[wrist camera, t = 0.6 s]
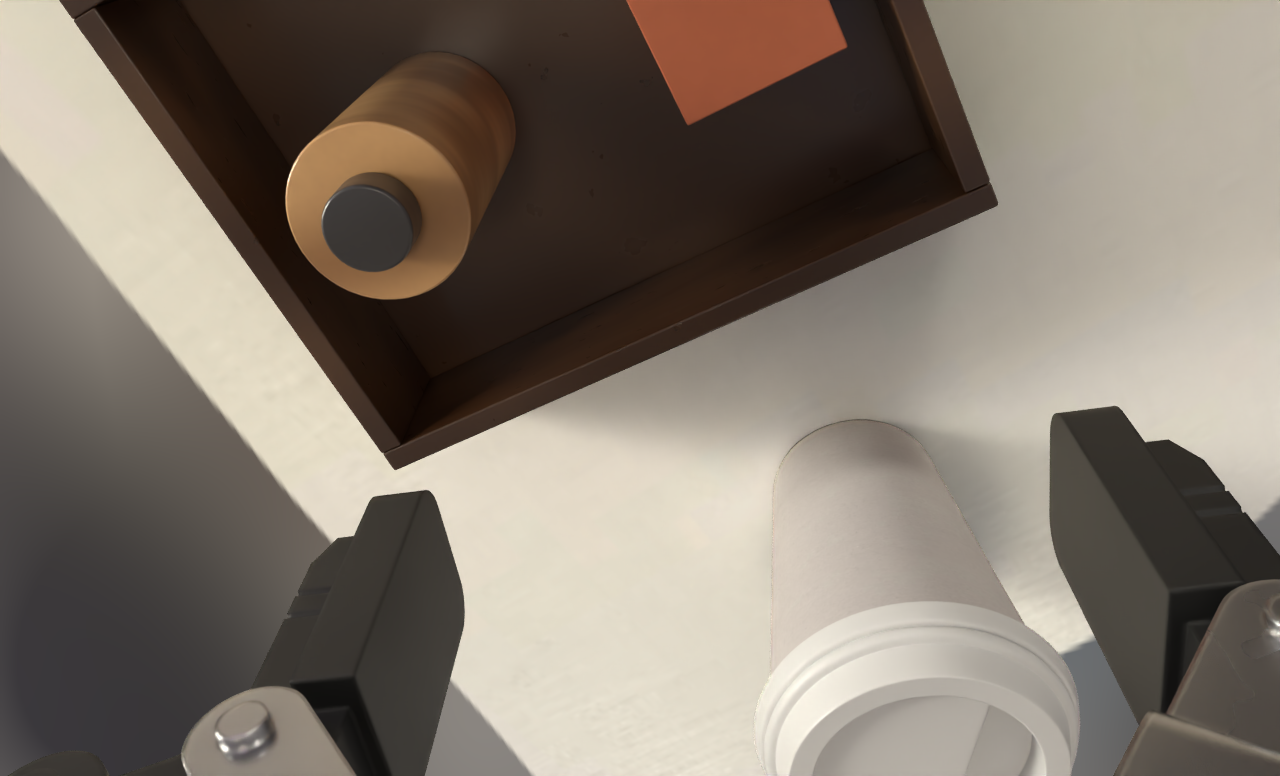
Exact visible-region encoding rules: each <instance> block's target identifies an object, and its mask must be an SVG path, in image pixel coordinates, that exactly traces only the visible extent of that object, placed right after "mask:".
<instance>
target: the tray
mask: <svg viewBox="0 0 1280 776" xmlns="http://www.w3.org/2000/svg"><path fill="white" fill-rule="evenodd" d="M59 1H60V2H61V3H62V5H63V6H64V8H65V9H66V10H67V12H68V13H69V15H70V16H71V17H72V18H73V19H75V20H74V22H75V23H76V25H77V26H78V27H79V29H80V30H81V32H82V33H83V34H84V36H85V37H86V39H87V40H88V41H89V43H90V44H91V46H92V47H93V48H94V50H95V51H96V53H97V54H98V55H99V57H100V58H101V60H102V61H103V62H104V64H105V65H106V67H107V68H108V69H109V71H110V72H111V74H112V75H113V76H114V78H115V79H116V81H117V82H118V84H119V85H120V86H121V88H122V89H123V91H124V92H125V93H126V95H127V96H128V98H129V99H130V100H131V102H132V103H133V105H134V106H135V107H136V109H137V110H138V112H139V113H140V114H141V116H142V117H143V119H144V120H145V121H146V123H147V124H148V126H149V127H150V128H151V130H152V131H153V133H154V134H155V135H156V137H157V138H158V140H159V141H160V142H161V144H162V145H163V147H164V148H165V149H166V151H167V152H168V154H169V155H170V156H171V158H172V159H173V161H174V162H175V164H176V165H177V166H178V168H179V169H180V171H181V172H182V173H183V175H184V176H185V178H186V179H187V180H188V182H189V183H190V185H191V186H192V187H193V189H194V190H195V192H196V193H197V194H198V196H199V197H200V199H201V200H202V201H203V203H204V204H205V206H206V207H207V208H208V210H209V211H210V213H211V214H212V215H213V217H214V218H215V220H216V221H217V222H218V224H219V225H220V227H221V228H222V229H223V231H224V232H225V234H226V235H227V236H228V238H229V239H230V241H231V242H232V243H233V245H234V246H235V248H236V249H237V251H238V252H239V253H240V255H241V256H242V258H243V259H244V260H245V262H246V263H247V265H248V266H249V267H250V269H251V270H252V272H253V273H254V274H255V276H256V277H257V279H258V280H259V281H260V283H261V284H262V286H263V287H264V288H265V290H266V291H267V293H268V294H269V295H270V297H271V298H272V300H273V301H274V302H275V304H276V305H277V307H278V308H279V309H280V311H281V312H282V314H283V315H284V316H285V318H286V319H287V321H288V322H289V323H290V325H291V326H292V328H293V329H294V330H295V332H296V333H297V335H298V336H299V338H300V339H301V340H302V342H303V343H304V345H305V346H306V347H307V349H308V350H309V352H310V353H311V354H312V356H313V357H314V359H315V360H316V361H317V363H318V364H319V366H320V367H321V368H322V370H323V371H324V373H325V374H326V375H327V377H328V378H329V380H330V381H331V382H332V384H333V385H334V387H335V388H336V389H337V391H338V392H339V394H340V395H341V396H342V398H343V399H344V401H345V402H346V403H347V405H348V406H349V408H350V409H351V410H352V412H353V413H354V415H355V416H356V418H357V419H358V420H359V422H360V423H361V425H362V426H363V427H364V429H365V430H366V432H367V433H368V434H369V436H370V437H371V439H372V440H373V441H374V443H375V444H376V446H377V447H378V448H379V450H380V451H381V452H382V453H384V456H385V457H386V459H387V460H388V462H389V463H390V464H391V466H392V467H393V469H394V470H397V469H399V468H402V467H404V466H406V465H408V464H411V463H413V462H415V461H418V460H420V459H422V458H424V457H427V456H429V455H431V454H434V453H436V452H438V451H440V450H443V449H445V448H447V447H449V446H452V445H454V444H456V443H459V442H461V441H463V440H465V439H468V438H470V437H472V436H475V435H477V434H479V433H481V432H484V431H486V430H488V429H490V428H493V427H495V426H497V425H500V424H502V423H504V422H506V421H509V420H511V419H513V418H516V417H518V416H520V415H522V414H525V413H527V412H529V411H531V410H534V409H536V408H538V407H541V406H543V405H545V404H547V403H550V402H552V401H554V400H557V399H559V398H561V397H563V396H566V395H568V394H570V393H572V392H575V391H577V390H579V389H582V388H584V387H586V386H588V385H591V384H593V383H595V382H598V381H600V380H602V379H604V378H607V377H609V376H611V375H613V374H616V373H618V372H620V371H623V370H625V369H627V368H629V367H632V366H634V365H636V364H639V363H641V362H643V361H645V360H648V359H650V358H652V357H654V356H657V355H659V354H661V353H664V352H666V351H668V350H670V349H673V348H675V347H677V346H680V345H682V344H684V343H686V342H689V341H691V340H693V339H695V338H698V337H700V336H702V335H705V334H707V333H709V332H711V331H714V330H716V329H718V328H720V327H723V326H725V325H727V324H730V323H732V322H734V321H736V320H739V319H741V318H743V317H746V316H748V315H750V314H752V313H755V312H757V311H759V310H761V309H764V308H766V307H768V306H771V305H773V304H775V303H777V302H780V301H782V300H784V299H787V298H789V297H791V296H793V295H796V294H798V293H800V292H802V291H805V290H807V289H809V288H812V287H814V286H816V285H818V284H821V283H823V282H825V281H828V280H830V279H832V278H834V277H837V276H839V275H841V274H843V273H846V272H848V271H850V270H853V269H855V268H857V267H859V266H862V265H864V264H866V263H869V262H871V261H873V260H875V259H878V258H880V257H882V256H884V255H887V254H889V253H891V252H894V251H896V250H898V249H900V248H903V247H905V246H907V245H910V244H912V243H914V242H916V241H919V240H921V239H923V238H925V237H928V236H930V235H932V234H935V233H937V232H939V231H941V230H944V229H946V228H948V227H951V226H953V225H955V224H957V223H960V222H962V221H964V220H966V219H969V218H971V217H973V216H976V215H978V214H980V213H982V212H985V211H987V210H989V209H992V208H994V207H996V206H997V205H998V201H997V198H996V195H995V192H994V190H993V187H992V185H991V183H990V182H989V181H990V179H989V176H988V174H987V171H986V168H985V165H984V163H983V160H982V157H981V155H980V152H979V149H978V147H977V144H976V141H975V139H974V136H973V133H972V131H971V128H970V125H969V122H968V120H967V117H966V114H965V112H964V109H963V106H962V104H961V101H960V98H959V96H958V93H957V90H956V88H955V85H954V82H953V79H952V77H951V74H950V71H949V69H948V66H947V63H946V61H945V58H944V55H943V53H942V50H941V47H940V44H939V42H938V39H937V36H936V34H935V31H934V28H933V26H932V23H931V20H930V18H929V15H928V12H927V10H926V7H925V4H924V1H923V0H829V1H830V4H831V6H832V9H833V11H834V14H835V16H836V18H837V21H838V23H839V26H840V28H841V31H842V33H843V36H844V38H845V40H846V43H847V48H845V49H843V50H841V51H839V52H837V53H835V54H833V55H831V56H829V57H827V58H825V59H823V60H821V61H819V62H817V63H815V64H813V65H811V66H809V67H807V68H805V69H803V70H801V71H799V72H797V73H795V74H793V75H790V76H788V77H786V78H784V79H782V80H780V81H778V82H776V83H774V84H772V85H770V86H768V87H766V88H764V89H762V90H760V91H758V92H756V93H754V94H752V95H750V96H748V97H746V98H744V99H742V100H740V101H738V102H736V103H734V104H731V105H729V106H727V107H725V108H723V109H721V110H719V111H717V112H715V113H713V114H711V115H709V116H707V117H705V118H703V119H701V120H699V121H697V122H695V123H693V124H691V125H687V123H686V121H685V119H684V117H683V115H682V113H681V111H680V109H679V107H678V105H677V103H676V101H675V99H674V97H673V95H672V93H671V91H670V89H669V87H668V85H667V83H666V81H665V78H664V76H663V74H662V72H661V70H660V68H659V66H658V64H657V62H656V60H655V58H654V56H653V54H652V52H651V50H650V48H649V46H648V44H647V42H646V40H645V38H644V36H643V33H642V31H641V29H640V27H639V25H638V23H637V21H636V19H635V17H634V15H633V13H632V11H631V9H630V7H629V5H628V3H627V1H626V0H59ZM427 52H443V53H451V54H454V55H458V56H461V57H464V58H466V59H468V60H470V61H472V62H474V63H476V64H478V65H479V66H480V67H482V68H483V69H484V70H486V71H487V72H488V73H489V74H490V75H491V76H492V77H493V78H494V79H495V80H496V81H497V82H498V84H499V85H500V86H501V88H502V89H503V91H504V92H505V94H506V96H507V98H508V100H509V102H510V104H511V107H512V110H513V114H514V119H515V127H516V138H515V145H514V150H513V153H512V156H511V159H510V161H509V163H508V165H507V167H506V169H505V172H504V174H503V176H502V178H501V180H500V182H499V184H498V186H497V188H496V190H495V192H494V194H493V196H492V199H491V201H490V203H489V205H488V207H487V209H486V211H485V213H484V215H483V217H482V219H481V221H480V223H479V226H478V228H477V230H476V232H475V234H474V236H473V238H472V240H471V242H470V244H469V246H468V248H467V250H466V253H465V254H464V256H463V258H462V260H461V262H460V264H459V265H458V266H457V268H456V269H455V271H454V272H453V273H452V274H451V275H450V276H449V277H448V278H447V279H446V280H445V281H443V282H442V283H441V284H439V285H438V286H436V287H435V288H433V289H431V290H429V291H427V292H425V293H422V294H420V295H417V296H413V297H409V298H403V299H376V298H370V297H366V296H362V295H358V294H356V293H353V292H350V291H348V290H346V289H344V288H342V287H340V286H338V285H336V284H335V283H333V282H332V281H330V280H329V279H327V278H326V277H325V276H324V275H323V274H321V273H320V272H319V271H318V270H317V269H316V268H315V267H314V266H313V265H312V264H311V263H310V262H309V261H308V259H307V258H306V257H305V255H304V254H303V253H302V251H301V249H300V248H299V246H298V244H297V243H296V241H295V238H294V236H293V234H292V232H291V228H290V225H289V222H288V218H287V212H286V199H285V195H286V186H287V181H288V177H289V173H290V171H291V169H292V166H293V164H294V162H295V160H296V159H297V157H298V156H299V154H300V153H301V151H302V150H303V149H304V148H305V147H306V145H307V144H308V143H310V142H311V141H312V140H313V139H314V138H315V137H316V136H317V135H318V134H319V133H321V132H322V131H323V130H324V129H325V128H326V127H327V126H328V125H329V124H330V123H331V122H333V121H334V120H335V119H336V118H337V117H338V116H339V115H340V114H341V113H342V112H344V111H345V110H346V109H347V108H348V107H349V106H350V105H351V104H352V103H353V102H354V101H356V100H357V99H358V98H359V97H360V96H361V95H362V94H363V93H364V92H365V91H366V90H368V89H369V88H370V87H371V86H372V85H373V84H374V83H375V82H376V81H377V80H379V79H380V78H381V77H382V76H383V75H384V74H385V73H386V72H387V71H388V70H390V69H391V68H392V67H393V66H394V65H396V64H397V63H399V62H400V61H402V60H404V59H406V58H408V57H410V56H413V55H417V54H420V53H427Z"/></svg>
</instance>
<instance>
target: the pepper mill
mask: <svg viewBox="0 0 1280 776" xmlns="http://www.w3.org/2000/svg"><path fill="white" fill-rule="evenodd" d="M515 138H516V127H515V119H514V114H513V110H512V107H511V104H510V102H509V100H508V98H507V96H506V94H505V92H504V91H503V89H502V88H501V86H500V85H499V84H498V82H497V81H496V80H495V79H494V78H493V77H492V76H491V75H490V74H489V73H488V72H487V71H486V70H484V69H483V68H482V67H480V66H479V65H478V64H476V63H474V62H472V61H470V60H468V59H466V58H464V57H461V56H458V55H454V54H451V53H443V52H427V53H420V54H417V55H413V56H410V57H408V58H406V59H404V60H402V61H400V62H399V63H397V64H396V65H394V66H393V67H392V68H391V69H390V70H388V71H387V72H386V73H385V74H384V75H383V76H382V77H381V78H380V79H379V80H377V81H376V82H375V83H374V84H373V85H372V86H371V87H370V88H369V89H368V90H366V91H365V92H364V93H363V94H362V95H361V96H360V97H359V98H358V99H357V100H356V101H354V102H353V103H352V104H351V105H350V106H349V107H348V108H347V109H346V110H345V111H344V112H342V113H341V114H340V115H339V116H338V117H337V118H336V119H335V120H334V121H333V122H331V123H330V124H329V125H328V126H327V127H326V128H325V129H324V130H323V131H322V132H321V133H319V134H318V135H317V136H316V137H315V138H314V139H313V140H312V141H311V142H310V143H308V144H307V145H306V147H305V148H304V149H303V150H302V151H301V153H300V154H299V156H298V157H297V159H296V160H295V162H294V164H293V166H292V169H291V171H290V173H289V177H288V181H287V186H286V195H285V199H286V212H287V218H288V222H289V225H290V228H291V232H292V234H293V236H294V238H295V241H296V243H297V244H298V246H299V248H300V249H301V251H302V253H303V254H304V255H305V257H306V258H307V259H308V261H309V262H310V263H311V264H312V265H313V266H314V267H315V268H316V269H317V270H318V271H319V272H320V273H321V274H323V275H324V276H325V277H326V278H327V279H329V280H330V281H332V282H333V283H335V284H336V285H338V286H340V287H342V288H344V289H346V290H348V291H350V292H353V293H356V294H358V295H362V296H366V297H370V298H376V299H403V298H409V297H413V296H417V295H420V294H422V293H425V292H427V291H429V290H431V289H433V288H435V287H436V286H438V285H439V284H441V283H442V282H443V281H445V280H446V279H447V278H448V277H449V276H450V275H451V274H452V273H453V272H454V271H455V269H456V268H457V266H458V265H459V264H460V262H461V260H462V258H463V256H464V254H465V253H466V250H467V248H468V246H469V244H470V242H471V240H472V238H473V236H474V234H475V232H476V230H477V228H478V226H479V223H480V221H481V219H482V217H483V215H484V213H485V211H486V209H487V207H488V205H489V203H490V201H491V199H492V196H493V194H494V192H495V190H496V188H497V186H498V184H499V182H500V180H501V178H502V176H503V174H504V172H505V169H506V167H507V165H508V163H509V161H510V159H511V156H512V153H513V150H514V145H515Z"/></svg>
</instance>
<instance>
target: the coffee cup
mask: <svg viewBox="0 0 1280 776" xmlns="http://www.w3.org/2000/svg"><path fill="white" fill-rule="evenodd" d="M1079 733H1080V714H1079V701H1078V694H1077V689H1076V686H1075V683H1074V680H1073V677H1072V675H1071V673H1070V671H1069V669H1068V667H1067V665H1066V664H1065V662H1064V661H1063V659H1062V658H1061V656H1060V655H1059V654H1058V653H1057V651H1056V650H1055V649H1054V648H1053V647H1052V646H1051V645H1050V644H1049V643H1048V642H1047V641H1046V640H1045V639H1044V638H1042V637H1041V636H1040V635H1039V634H1037V633H1036V632H1035V631H1033V630H1032V629H1030V628H1029V627H1027V626H1025V624H1024V622H1023V621H1022V619H1021V617H1020V615H1019V614H1018V612H1017V610H1016V608H1015V607H1014V605H1013V603H1012V601H1011V600H1010V598H1009V596H1008V595H1007V593H1006V591H1005V589H1004V588H1003V586H1002V584H1001V582H1000V580H999V579H998V577H997V575H996V573H995V572H994V570H993V568H992V566H991V565H990V563H989V561H988V559H987V558H986V556H985V554H984V552H983V550H982V549H981V547H980V545H979V543H978V542H977V540H976V538H975V536H974V535H973V533H972V531H971V529H970V527H969V526H968V524H967V522H966V520H965V519H964V517H963V515H962V513H961V512H960V510H959V508H958V506H957V504H956V503H955V501H954V499H953V497H952V496H951V494H950V492H949V490H948V488H947V487H946V485H945V483H944V481H943V479H942V478H941V476H940V474H939V472H938V471H937V469H936V467H935V465H934V463H933V462H932V460H931V458H930V456H929V455H928V453H927V452H926V450H925V449H924V448H923V446H922V445H921V444H920V443H919V442H918V441H917V440H916V439H915V438H913V437H912V436H911V435H909V434H908V433H906V432H905V431H903V430H901V429H899V428H897V427H894V426H892V425H889V424H885V423H882V422H877V421H869V420H852V421H844V422H839V423H835V424H831V425H828V426H826V427H823V428H821V429H818V430H816V431H814V432H813V433H811V434H809V435H808V436H806V437H805V438H803V439H802V440H801V441H800V442H798V443H797V444H796V445H795V446H794V447H793V448H792V449H791V450H790V451H789V453H788V454H787V455H786V457H785V458H784V460H783V461H782V463H781V465H780V467H779V469H778V471H777V474H776V478H775V482H774V491H773V548H772V606H771V653H770V678H769V679H768V681H767V683H766V685H765V686H764V688H763V691H762V693H761V695H760V698H759V701H758V704H757V707H756V711H755V717H754V742H755V748H756V752H757V756H758V758H759V761H760V764H761V766H762V768H763V770H764V773H765V775H766V776H1071V769H1072V766H1073V764H1074V760H1075V757H1076V754H1077V749H1078V741H1079Z"/></svg>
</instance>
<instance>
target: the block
mask: <svg viewBox="0 0 1280 776" xmlns="http://www.w3.org/2000/svg"><path fill="white" fill-rule="evenodd" d="M626 1H627V3H628V5H629V7H630V9H631V11H632V13H633V15H634V17H635V19H636V21H637V23H638V25H639V27H640V29H641V31H642V33H643V36H644V38H645V40H646V42H647V44H648V46H649V48H650V50H651V52H652V54H653V56H654V58H655V60H656V62H657V64H658V66H659V68H660V70H661V72H662V74H663V76H664V78H665V81H666V83H667V85H668V87H669V89H670V91H671V93H672V95H673V97H674V99H675V101H676V103H677V105H678V107H679V109H680V111H681V113H682V115H683V117H684V119H685V121H686V123H687V125H691V124H693V123H695V122H697V121H699V120H701V119H703V118H705V117H707V116H709V115H711V114H713V113H715V112H717V111H719V110H721V109H723V108H725V107H727V106H729V105H731V104H734V103H736V102H738V101H740V100H742V99H744V98H746V97H748V96H750V95H752V94H754V93H756V92H758V91H760V90H762V89H764V88H766V87H768V86H770V85H772V84H774V83H776V82H778V81H780V80H782V79H784V78H786V77H788V76H790V75H793V74H795V73H797V72H799V71H801V70H803V69H805V68H807V67H809V66H811V65H813V64H815V63H817V62H819V61H821V60H823V59H825V58H827V57H829V56H831V55H833V54H835V53H837V52H839V51H841V50H843V49H845V48H847V43H846V40H845V38H844V36H843V33H842V31H841V28H840V26H839V23H838V21H837V18H836V16H835V14H834V11H833V9H832V6H831V4H830V1H829V0H626Z"/></svg>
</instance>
